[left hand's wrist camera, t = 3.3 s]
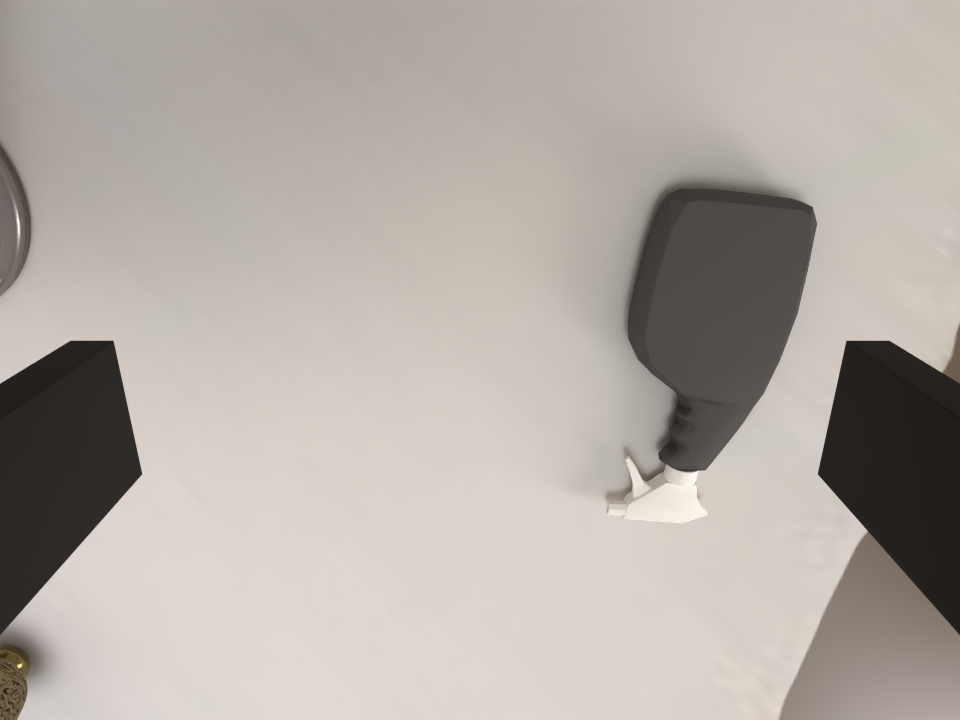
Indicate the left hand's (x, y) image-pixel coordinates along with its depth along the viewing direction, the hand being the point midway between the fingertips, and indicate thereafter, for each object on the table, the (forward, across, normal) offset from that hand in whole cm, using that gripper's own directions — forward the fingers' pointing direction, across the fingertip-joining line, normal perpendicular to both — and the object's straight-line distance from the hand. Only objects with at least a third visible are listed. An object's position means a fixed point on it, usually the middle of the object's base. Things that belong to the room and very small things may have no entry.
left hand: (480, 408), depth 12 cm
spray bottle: (+33, +15, -13) cm, 39 cm away
